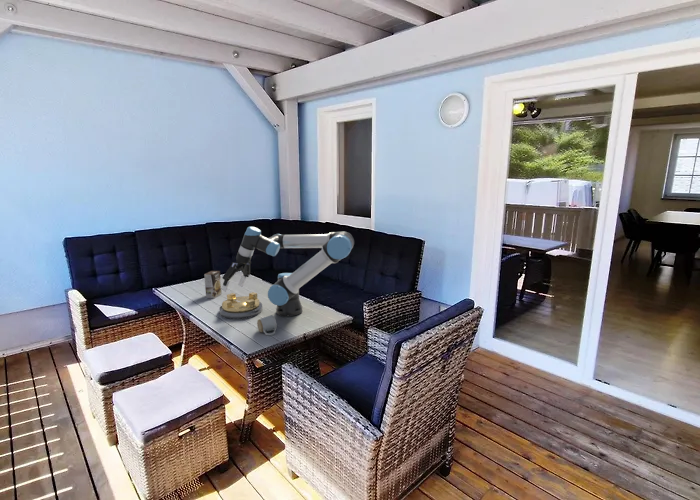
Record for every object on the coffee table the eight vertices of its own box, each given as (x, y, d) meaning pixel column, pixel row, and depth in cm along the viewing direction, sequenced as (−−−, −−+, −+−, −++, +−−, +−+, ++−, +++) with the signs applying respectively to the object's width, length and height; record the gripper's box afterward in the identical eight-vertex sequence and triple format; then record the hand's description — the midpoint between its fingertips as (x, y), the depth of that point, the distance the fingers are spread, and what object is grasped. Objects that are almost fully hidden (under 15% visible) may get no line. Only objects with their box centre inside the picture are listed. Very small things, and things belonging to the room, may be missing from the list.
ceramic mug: (256, 330, 190) (256, 316, 188) (271, 326, 194) (271, 312, 192) (264, 338, 181) (263, 323, 179) (279, 334, 186) (279, 320, 184)
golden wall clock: (261, 299, 226) (260, 290, 225) (257, 312, 205) (256, 302, 204) (226, 300, 223) (225, 292, 222) (218, 314, 203) (217, 304, 202)
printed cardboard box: (214, 298, 236) (212, 274, 233) (205, 297, 237) (203, 274, 234) (222, 294, 245) (220, 270, 241) (213, 293, 246) (211, 270, 243)
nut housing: (264, 303, 228) (264, 298, 227) (260, 318, 205) (259, 313, 204) (224, 305, 225) (224, 300, 224) (215, 320, 202) (215, 315, 201)
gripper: (254, 249, 209) (241, 280, 214) (223, 253, 186) (210, 288, 191) (264, 255, 207) (251, 287, 212) (234, 260, 184) (221, 296, 189)
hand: (232, 288), depth 202 cm, fingers open, 13 cm apart
